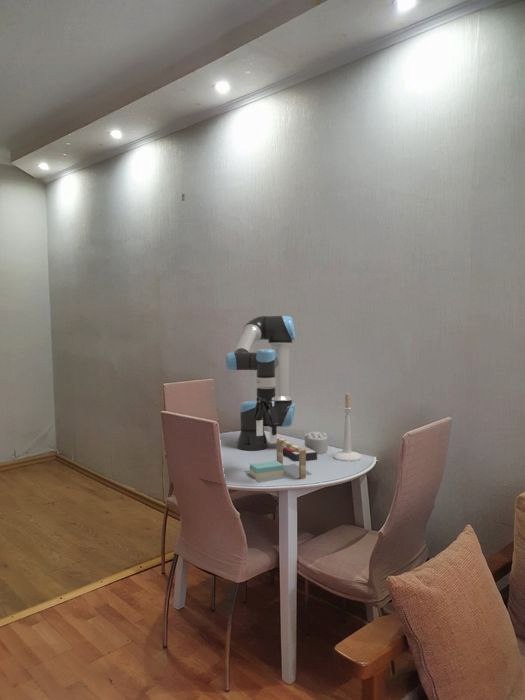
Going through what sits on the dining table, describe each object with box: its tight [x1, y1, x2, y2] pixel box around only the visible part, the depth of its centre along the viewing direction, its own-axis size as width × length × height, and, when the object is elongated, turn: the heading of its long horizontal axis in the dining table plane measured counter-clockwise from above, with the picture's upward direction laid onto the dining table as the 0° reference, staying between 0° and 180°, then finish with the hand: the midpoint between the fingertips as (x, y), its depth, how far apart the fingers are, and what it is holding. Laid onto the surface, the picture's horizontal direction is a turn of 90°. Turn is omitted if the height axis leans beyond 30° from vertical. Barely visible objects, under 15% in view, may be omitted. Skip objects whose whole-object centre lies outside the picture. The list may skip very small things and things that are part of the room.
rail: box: [276, 437, 307, 480], centre depth 219 cm, size 23×2×12 cm, turn 24°
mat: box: [243, 463, 313, 483], centre depth 217 cm, size 16×24×1 cm, turn 114°
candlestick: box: [332, 392, 363, 462], centre depth 239 cm, size 13×13×30 cm
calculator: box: [283, 445, 318, 462], centre depth 242 cm, size 11×4×15 cm
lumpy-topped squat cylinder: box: [304, 431, 329, 456], centre depth 251 cm, size 10×13×9 cm
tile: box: [249, 460, 284, 479], centre depth 215 cm, size 7×12×4 cm, turn 114°
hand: (266, 439), depth 214 cm, fingers open, 13 cm apart
